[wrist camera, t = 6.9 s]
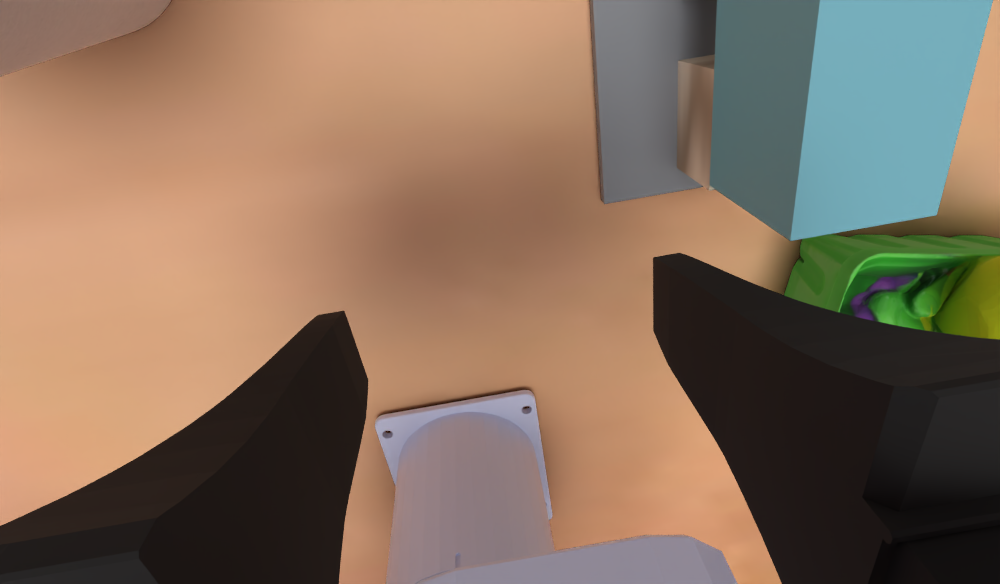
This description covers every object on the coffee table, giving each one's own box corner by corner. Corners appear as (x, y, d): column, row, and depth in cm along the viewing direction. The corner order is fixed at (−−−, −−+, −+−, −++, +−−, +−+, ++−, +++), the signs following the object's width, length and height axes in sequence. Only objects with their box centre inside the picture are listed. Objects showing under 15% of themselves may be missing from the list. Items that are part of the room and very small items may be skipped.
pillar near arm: (775, 150, 21) (820, 171, 19) (677, 167, 21) (708, 190, 19) (785, 42, 20) (838, 48, 17) (678, 60, 19) (714, 69, 17)
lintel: (821, 165, 19) (936, 215, 14) (709, 185, 19) (790, 240, 14) (876, -211, 14) (1074, -310, 10) (724, -185, 14) (853, -272, 9)
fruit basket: (739, 351, 27) (910, 554, 17) (792, 179, 23) (1059, 314, 13) (946, 347, 28) (1220, 536, 18) (1032, 182, 24) (1449, 310, 14)
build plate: (836, 159, 22) (844, 162, 22) (601, 199, 22) (604, 204, 22) (896, -221, 17) (908, -227, 16) (579, -168, 17) (583, -173, 16)
